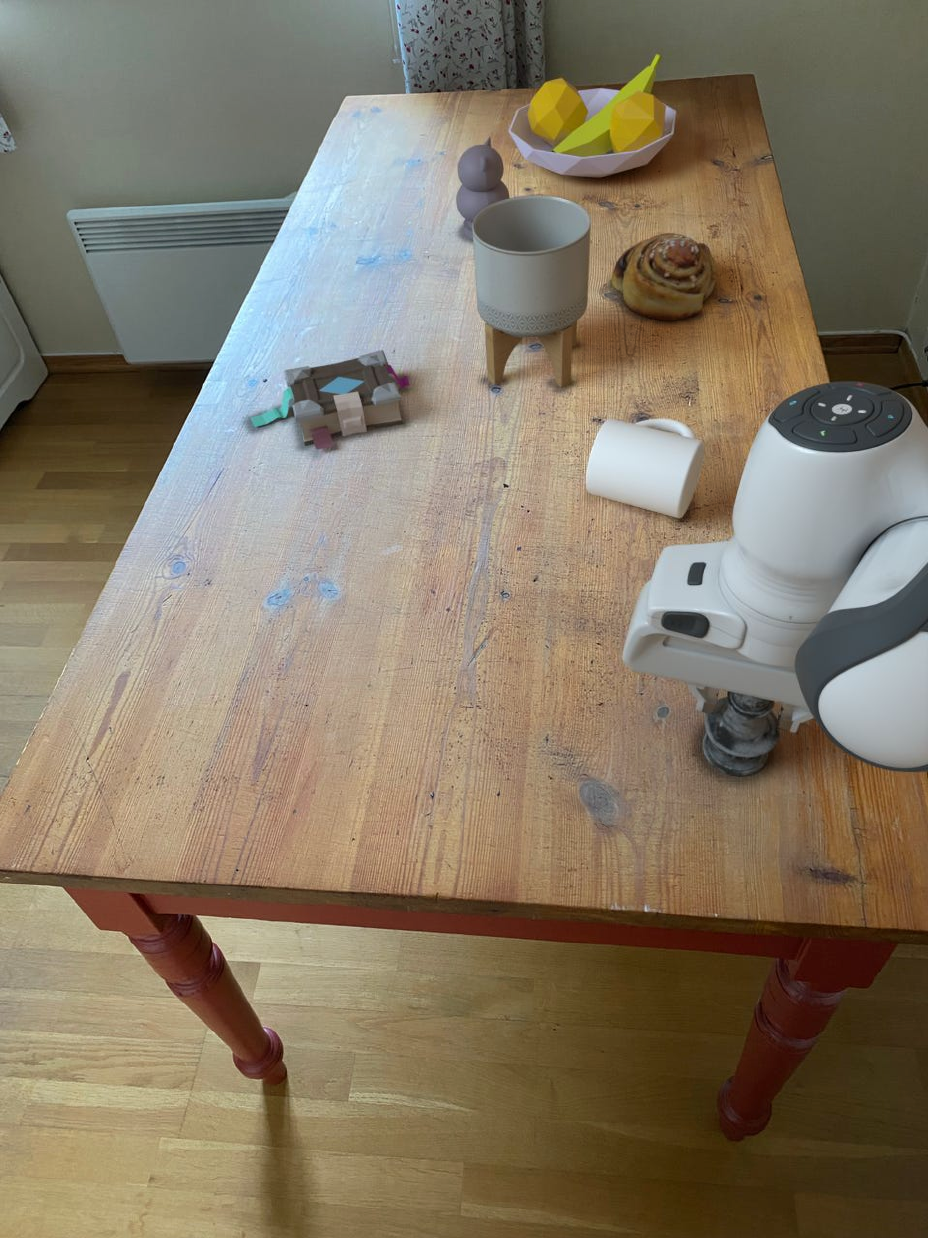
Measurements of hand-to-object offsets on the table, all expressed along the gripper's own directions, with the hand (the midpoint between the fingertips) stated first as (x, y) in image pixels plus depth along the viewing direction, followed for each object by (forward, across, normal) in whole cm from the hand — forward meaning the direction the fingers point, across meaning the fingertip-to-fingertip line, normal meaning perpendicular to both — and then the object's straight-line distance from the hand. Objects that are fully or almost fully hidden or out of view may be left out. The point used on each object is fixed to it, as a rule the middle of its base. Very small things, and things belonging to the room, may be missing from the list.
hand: (745, 715), depth 71 cm
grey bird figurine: (+5, +47, -80) cm, 93 cm away
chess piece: (+5, 0, 0) cm, 5 cm away
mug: (+5, +13, -30) cm, 33 cm away
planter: (+5, +31, -49) cm, 58 cm away
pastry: (+5, +18, -69) cm, 71 cm away
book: (+5, +51, -33) cm, 61 cm away
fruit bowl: (+5, +36, -107) cm, 113 cm away
